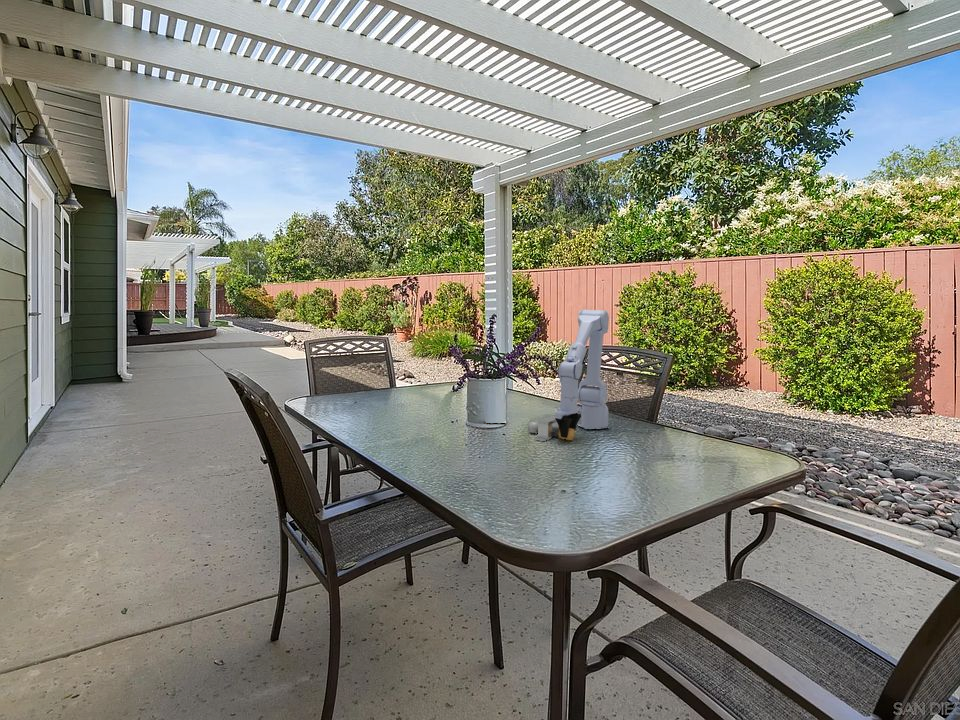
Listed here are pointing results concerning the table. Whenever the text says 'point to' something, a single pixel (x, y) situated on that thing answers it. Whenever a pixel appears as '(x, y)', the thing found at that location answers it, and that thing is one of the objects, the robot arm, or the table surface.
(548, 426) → the housing
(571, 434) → the plug
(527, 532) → the table surface
